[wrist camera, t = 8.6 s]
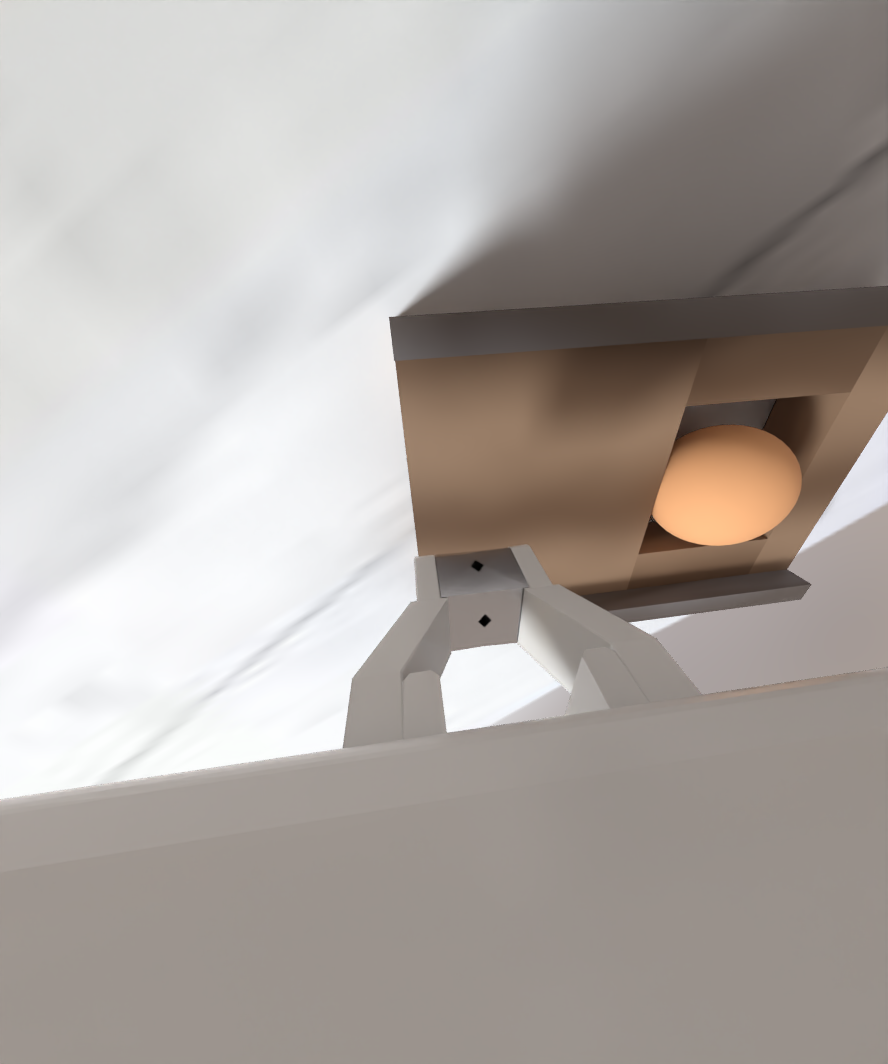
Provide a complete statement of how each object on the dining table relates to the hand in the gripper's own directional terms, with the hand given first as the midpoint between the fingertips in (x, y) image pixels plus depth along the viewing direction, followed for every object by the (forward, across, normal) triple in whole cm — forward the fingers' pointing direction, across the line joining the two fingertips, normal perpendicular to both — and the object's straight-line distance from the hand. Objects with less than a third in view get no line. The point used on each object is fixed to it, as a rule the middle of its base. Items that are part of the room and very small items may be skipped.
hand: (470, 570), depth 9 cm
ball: (+4, -11, +1) cm, 12 cm away
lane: (+7, -8, +1) cm, 11 cm away
